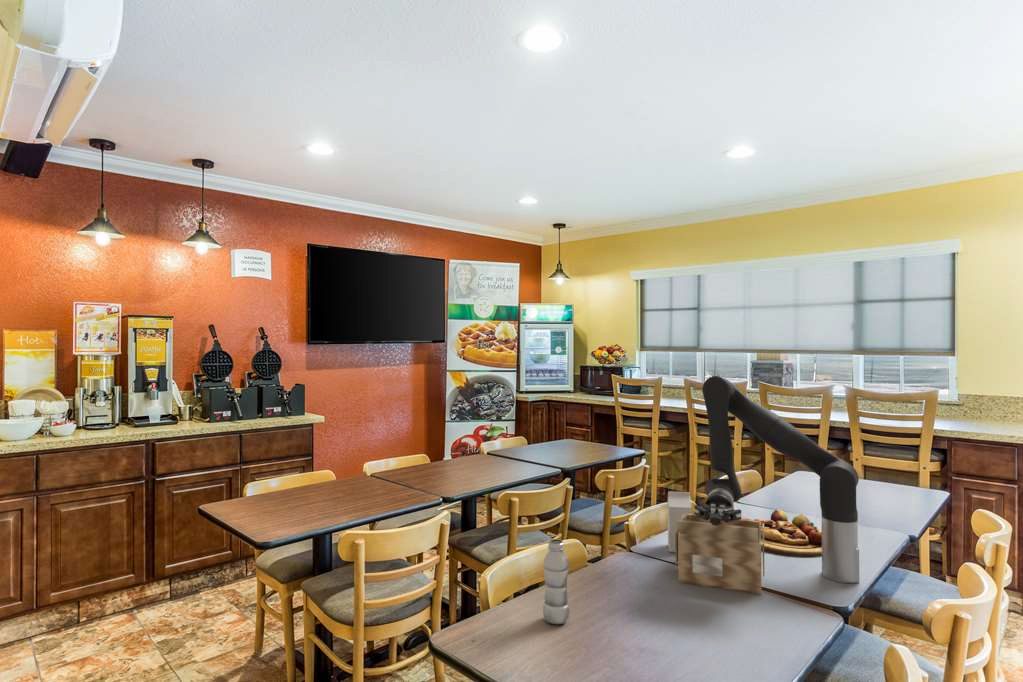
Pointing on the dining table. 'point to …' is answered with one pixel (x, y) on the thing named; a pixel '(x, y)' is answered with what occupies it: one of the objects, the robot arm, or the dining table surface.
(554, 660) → the dining table surface
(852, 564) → the robot arm
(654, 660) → the dining table surface
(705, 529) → the front flap
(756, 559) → the light wooden open box
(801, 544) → the wooden plate with food
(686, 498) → the milk carton
